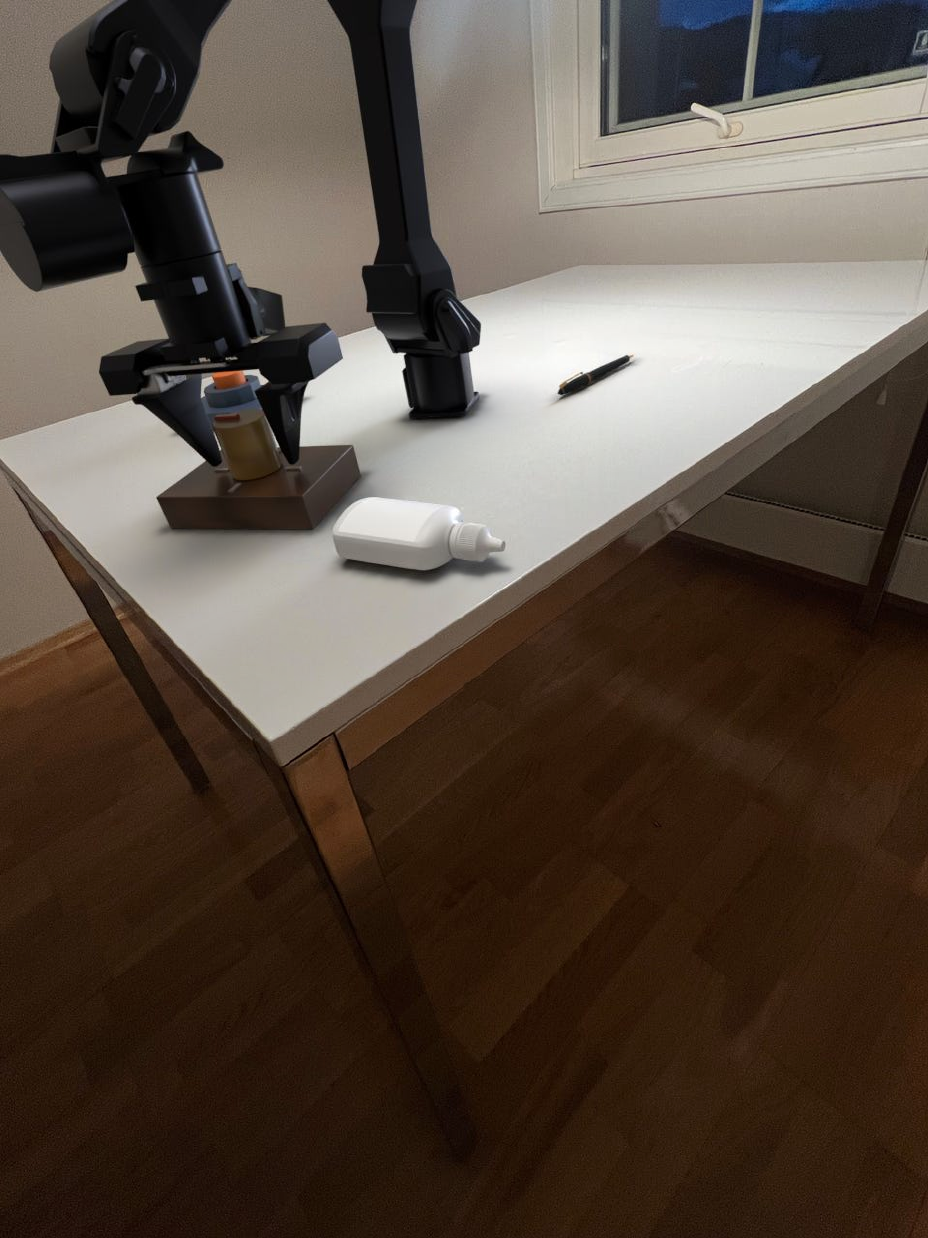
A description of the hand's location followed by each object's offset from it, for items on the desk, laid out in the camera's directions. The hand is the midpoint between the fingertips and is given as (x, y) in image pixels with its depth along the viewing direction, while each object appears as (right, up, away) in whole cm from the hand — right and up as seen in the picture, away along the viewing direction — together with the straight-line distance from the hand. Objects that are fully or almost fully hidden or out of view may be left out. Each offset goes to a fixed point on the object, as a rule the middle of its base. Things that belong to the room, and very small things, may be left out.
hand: (255, 463), depth 54 cm
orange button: (-10, +15, +22) cm, 29 cm away
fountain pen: (+33, +13, +16) cm, 39 cm away
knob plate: (+1, -3, +2) cm, 4 cm away
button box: (-10, +12, +24) cm, 29 cm away
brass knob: (0, 0, 0) cm, 0 cm away
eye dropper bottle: (+10, -7, -8) cm, 14 cm away
